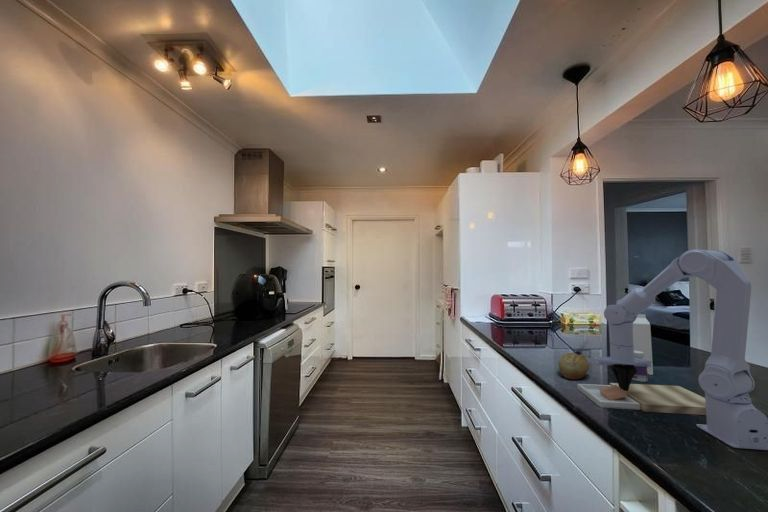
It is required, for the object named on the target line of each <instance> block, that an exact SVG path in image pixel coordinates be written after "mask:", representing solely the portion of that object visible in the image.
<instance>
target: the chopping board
mask: <svg viewBox="0 0 768 512" xmlns="http://www.w3.org/2000/svg"><path fill="white" fill-rule="evenodd" d="M609 385H611V386H613V385H617V386H618V387H619V385H618V382H609ZM626 393H627V396H628V397H630V398H631V399H633V400H634V401H636V402H638V403H639V404H640V410H641V411H642V412H645V413H661V414H662V413H665V414H679V415H697V416H698V415H699V416H706V404H705V396H701V395H699V394H697V393H696V392H693V391H691V390H688V389H686V388H684V387H682V386H679V385H666V384H665V385H664V384H645V383H644V384H642V383H640V384H639V383H630V386H629V390H628V391H626Z"/></svg>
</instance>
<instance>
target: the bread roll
mask: <svg viewBox="0 0 768 512" xmlns="http://www.w3.org/2000/svg"><path fill="white" fill-rule="evenodd" d="M558 370H559V371H560V373H561V375H563V376H562V377H564V378H566V379H568V380H579V379H582V378H584V377H585V376H586V374H587V373H588V371H589V370H590V363H589V360H588V359H587V357H586V355H583V354H581V353H580V354H578V353H576V352H567V353H566V352H565V353H564V354H562V355H561V357H560V358H559V361H558Z"/></svg>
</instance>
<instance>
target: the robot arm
mask: <svg viewBox="0 0 768 512" xmlns="http://www.w3.org/2000/svg"><path fill="white" fill-rule="evenodd" d="M692 277H695V278H698V279H701V280H703V281H705V282H706V283H707V284H708V285H709V286H711V287H713V288H714V289H715V290H716V291H715V292H716V294H715V304H714V305H715V307H714V319H713V329H712V341H711V350H710V351H711V353H710V355H709V356H708V358H707V360H706V361H705V363H704V368H703V371H701V372H700V374H699V375H698V379H697V380H698V385H699V386H700V388H701V389H702V391H704V398H705V404H706V415H705V417H706V424H702V423H700V424H698V423H696V427H697V428H699V429H700V430H702V431H704V432H705V433H708V434H709V435H711V436H713V437H714V438H716V439H718V440H720V441H721V442H723V443H725V444H726V445H728V446H730V447H731V448H735V449H746V450H748V449H750V450H761V451H768V417H767V415H766V414H764V412H762V411H761V410H759V409H758V408H756V407H755V406H754V405H753V403H752V399H751V397H750V395H749V393H751V392H752V391H753V390H754V389H755V386H756V385H755V384H756V383H755V380H754V378H753V377H752V375H751V370H750V369H751V365H750V364H749V362H747V361H746V360H747V359H746V349H747V339H748V338H747V337H748V331H749V330H748V327H749V317H750V316H749V315H750V306H751V294H752V282H751V280H750V279H749V277H748V276H747V275H746V274H745V272H744V271H743V269H742V268H741V267H740V266H739V264H738V261H737V258H735V257H733V256H732V255H730V254H728V253H726V252H725V251H722V250H719V249H708V250H707V249H698V248H695V249H694V248H693V249H689V250H687V251H685V252H683V253H682V254H681V255H680V256H678V257H677V258H675V259H673V260H672V261H671V263H670V264H669V265H668V266H666V268H664V269H663V270H662V271H660V273H659V274H658V275H656V276H655V277H654V278H653V279H651V280H650V282H648V283H647V284H646V285H645V286H643V287H635V288H630V289H629V290H627V293H628V294H626V295H625V296H624V297H622V298H621V299H618V300H616V302H615V303H616V304H609V305H607V306H606V307H605V309H604V311H603V316H604V318H605V320H606V321H607V322H608V333H609V335H608V336H609V354H610V355H609V356H600V357H599V356H597V357H596V356H595V357H594V364H595V365H597V366H605V365H606V366H609V368H610V369H611V371H612V373H613V374H614V377H615V379H616V381H617V382H616V383H618V385H619V387H620V388H621V389H623V390H625V391H628V390H629V386H630V384H632V381H633V380H632V378H633V376H634V375H635V374H636V372H637V368H635V367H634V366H646V367H652V366H651V361H650V360H648V359H639V358H634V346H633V322H634V321H635V320H636V318H637V315H639V314H642V313H643V312H644V311H646V310H647V309H649V308H650V307H651V306H652V305H654V304H655V303H656V296H657V295H659V294H661V293H662V292H664V291H665V290H667V289H668V288H670V287H671V286H673V285H674V284H676V283H677V282H678V281H680V280H682V279H686V278H692Z"/></svg>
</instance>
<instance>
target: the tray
mask: <svg viewBox="0 0 768 512" xmlns="http://www.w3.org/2000/svg"><path fill="white" fill-rule="evenodd" d="M576 385H577V386H576V388H577V390H578V391H579V392H581V393H582V394H583V395H584V396H586V397H587V398H588V399H589V400H591V401H592V402H593V403H594V404H596V405H597V406H598V407H600V408H602V409H616V410H618V409H619V410H632V411H633V410H637V411H639V410H641V409H640V404H639V403H638V402H636V401H634V400H633V399H631V398H630V397H623V398H619V399H614V400H609V399H607V398H606V397H605V396H603V395H602V394H601V393H600V390H599V388H603V387H608V386H611V385H610V384H592V383H590V384H589V383H588V384H587V383H577V384H576Z"/></svg>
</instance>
